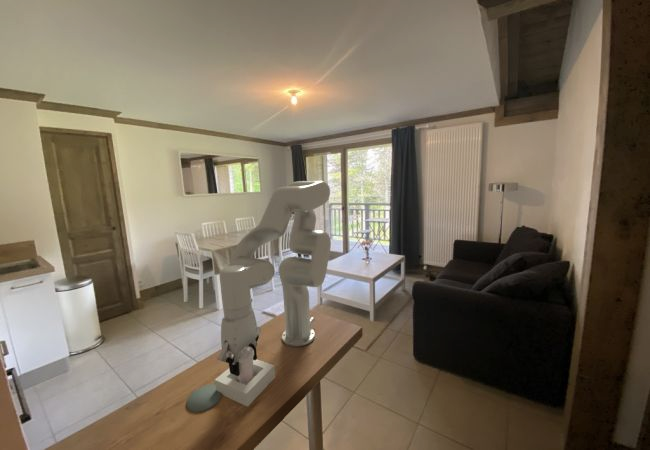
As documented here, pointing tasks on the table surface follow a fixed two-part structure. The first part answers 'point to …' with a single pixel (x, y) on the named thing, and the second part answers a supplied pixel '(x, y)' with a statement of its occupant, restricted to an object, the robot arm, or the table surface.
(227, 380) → the holder
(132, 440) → the table surface
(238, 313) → the robot arm
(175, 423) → the table surface
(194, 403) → the coaster
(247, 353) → the lidded cup with straw
